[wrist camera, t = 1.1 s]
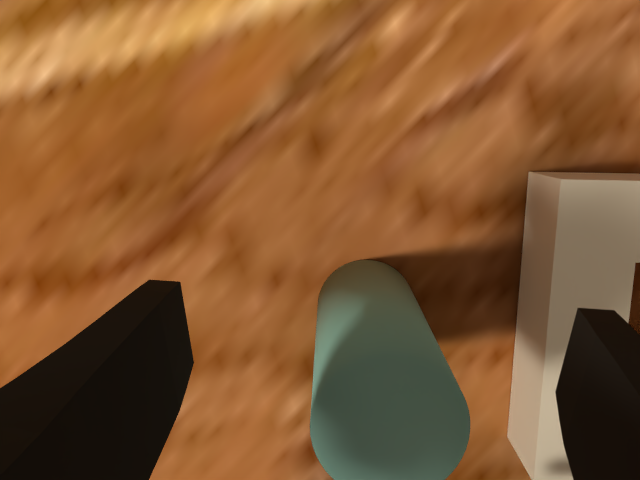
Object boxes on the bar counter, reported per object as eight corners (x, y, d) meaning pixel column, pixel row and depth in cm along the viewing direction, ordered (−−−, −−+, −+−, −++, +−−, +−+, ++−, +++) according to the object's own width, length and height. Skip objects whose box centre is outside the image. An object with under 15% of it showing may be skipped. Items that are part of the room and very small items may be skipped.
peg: (411, 353, 22) (465, 502, 14) (317, 351, 23) (308, 497, 14) (415, 260, 22) (475, 353, 13) (318, 258, 22) (311, 350, 13)
